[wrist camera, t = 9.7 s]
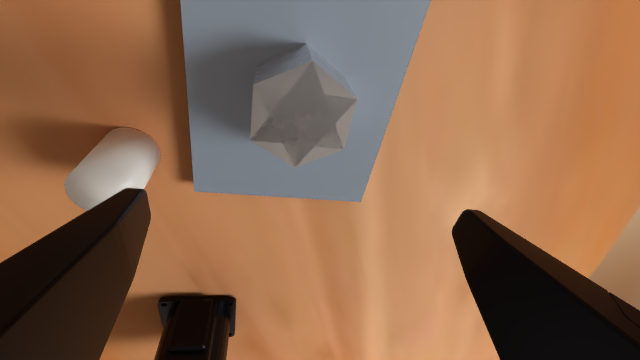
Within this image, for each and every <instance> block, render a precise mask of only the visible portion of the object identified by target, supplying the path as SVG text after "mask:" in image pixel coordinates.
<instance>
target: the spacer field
mask: <svg viewBox="0 0 640 360" xmlns="http://www.w3.org/2000/svg"><path fill="white" fill-rule="evenodd" d="M160 156H161V154H160V149H159V147H158V145H157V143H156V142H155V141H154V140H153V139H152V138H151V137H150V136H149V135H147V134H146V133H144V132H142V131H140V130H137V129H134V128H128V127H121V128H116V129H113V130H111V131H110V132H108V133H107V134H106V136H105V137H104V138H103V139H102V140H101V141H100V142H99V143H98V144H97V145H96V146H95V147H94V148H93V149H92V151H91V152H90V153H89V154H88V155H87V156H86V157H85V158H84V159H83V160H82V161H81V162H80V163H79V164H78V166H77V167H76V168H75V169H74V170H73V171H72V172H71V173H70V174H69V175H68V176H67V178H66V180H65V190H66V193H67V195H68V196H69V198H70V199H71V200H72V201H73V202H74V203H75V204H77V205H78V206H79V207H81V208H83V209H84V210H86V211H88V210H90V209H91V208H93V207H95V206H96V205H98V204H100V203H101V202H103V201H105V200H106V199H108V198H110V197H111V196H113V195H115V194H116V193H118V192H120V191H121V190H123V189H125V188H140V189H144V188H145V186H146V184H147V182H148V181H149V179H150V177H151V175H152V173H153V172H154V170H155V168H156V166H157V164H158V163H159V161H160Z"/></svg>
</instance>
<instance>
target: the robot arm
mask: <svg viewBox="0 0 640 360" xmlns="http://www.w3.org/2000/svg"><path fill="white" fill-rule="evenodd" d="M150 219H151V213H150V208H149V202H148V197H147V193H146V191H145V190H144V189H140V188H125V189H123V190H121V191H120V192H118V193H116V194H115V195H113V196H111V197H110V198H108V199H106V200H105V201H103V202H101V203H100V204H98V205H96V206H95V207H93V208H91V209H90V210H88V211H86V212H85V213H83V214H81V215H80V216H78V217H76V218H75V219H73V220H71V221H70V222H68V223H66V224H65V225H63V226H61V227H60V228H58V229H56V230H55V231H53V232H51V233H50V234H48V235H46V236H45V237H43V238H41V239H40V240H38V241H36V242H35V243H33V244H31V245H30V246H28V247H26V248H25V249H23V250H21V251H20V252H18V253H16V254H15V255H13V256H11V257H10V258H8V259H6V260H5V261H3V262H1V263H0V360H99V359H100V357H101V354H102V352H103V350H104V347H105V345H106V342H107V340H108V338H109V335H110V333H111V331H112V328H113V326H114V324H115V321H116V319H117V317H118V314H119V312H120V310H121V307H122V305H123V303H124V300H125V298H126V296H127V293H128V291H129V288H130V286H131V284H132V281H133V278H134V276H135V272H136V269H137V266H138V262H139V259H140V255H141V252H142V248H143V245H144V241H145V238H146V234H147V231H148V227H149V224H150ZM452 236H453V239H454V243H455V246H456V249H457V252H458V255H459V258H460V262H461V265H462V268H463V271H464V274H465V277H466V280H467V282H468V285H469V287H470V290H471V292H472V295H473V297H474V299H475V302H476V304H477V306H478V309H479V311H480V313H481V316H482V318H483V320H484V323H485V325H486V327H487V330H488V332H489V335H490V337H491V339H492V342H493V344H494V346H495V349H496V351H497V353H498V356H499V358H500V360H640V311H639V310H638V309H636V308H635V307H633V306H631V305H630V304H628V303H626V302H625V301H623V300H621V299H620V298H618V297H617V296H615V295H613V294H612V293H609V292H608V291H607V290H605V289H604V288H602V287H601V286H599V285H597V284H596V283H594V282H593V281H591V280H590V279H588V278H586V277H585V276H583V275H582V274H580V273H578V272H577V271H575V270H574V269H572V268H570V267H569V266H567V265H566V264H564V263H562V262H561V261H559V260H558V259H556V258H554V257H553V256H551V255H550V254H548V253H546V252H545V251H543V250H542V249H540V248H538V247H537V246H535V245H534V244H532V243H531V242H529V241H527V240H526V239H524V238H523V237H521V236H519V235H518V234H516V233H515V232H513V231H511V230H510V229H508V228H507V227H505V226H503V225H502V224H500V223H499V222H497V221H495V220H494V219H492V218H491V217H489V216H487V215H486V214H484V213H483V212H481V211H479V210H470V209H467V210H465V211H463V212H462V214H461V215H460V217H459V218H458V220H457V222H456V223H455V225H454V226H453V229H452ZM158 308H159V312H160V317H161V321H162V325H163V332H162V335H161V338H160V342H159V345H158V348H157V352H156V355H155V359H154V360H226V356H227V348H228V339H229V337H232V336H234V334H235V315H236V299H235V298H234V297H163V298H160V299H159V302H158Z"/></svg>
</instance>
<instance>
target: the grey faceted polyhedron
mask: <svg viewBox="0 0 640 360" xmlns="http://www.w3.org/2000/svg"><path fill="white" fill-rule="evenodd" d="M357 100H358V99H357V97H356V95H355V94H354V92H353V90H352V89H351V87H350V85H349V83H348V82H347V80H346V78H345V77H344V76H343V75H342V74H341V73H340V72H338V71H337V70H336V69H335V68H334V67H333V66H332V65H330V64H329V63H328V62H327V61H326V60H325V59H324V58H322V57H321V56H320V55H319V54H318V53H317V52H316V51H314V50H313V49H312V48H311V47H310V46H309V45H308V44H306V43H305V44H303V45H300V46H298V47H295V48H293V49H291V50H288V51H286V52H283V53H281V54H278V55H276V56H274V57H271V58H269V59H266V60H264V61H262V62H259V63H257V64H256V70H255V76H254V83H253V97H252V115H251V133H250V141H252V142H254V143H255V144H257V145H259V146H260V147H262V148H264V149H265V150H267V151H268V152H270V153H272V154H273V155H275V156H277V157H278V158H280V159H282V160H283V161H285V162H287V163H288V164H290V165H291V166H293V167H298V166H301V165H304V164H306V163H309V162H312V161H314V160H317V159H320V158H323V157H325V156H328V155H331V154H334V153H336V152H339V151H342V150H344V148H345V145H346V141H347V137H348V133H349V130H350V126H351V122H352V118H353V115H354V111H355V107H356V103H357Z"/></svg>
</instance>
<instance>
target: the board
mask: <svg viewBox="0 0 640 360" xmlns="http://www.w3.org/2000/svg"><path fill="white" fill-rule="evenodd" d="M430 1H431V0H180V3H181V17H182V30H183V44H184V58H185V71H186V85H187V99H188V112H189V126H190V140H191V153H192V167H193V180H194V191H195V192H211V193H227V194H243V195H259V196H275V197H291V198H307V199H323V200H338V201H354V202H361V200H362V197H363V194H364V191H365V189H366V186H367V183H368V180H369V177H370V174H371V171H372V168H373V165H374V163H375V160H376V157H377V154H378V151H379V148H380V145H381V142H382V140H383V137H384V134H385V131H386V128H387V125H388V122H389V119H390V116H391V114H392V111H393V108H394V105H395V102H396V99H397V96H398V93H399V91H400V88H401V85H402V82H403V79H404V76H405V73H406V70H407V67H408V65H409V62H410V59H411V56H412V53H413V50H414V47H415V44H416V42H417V39H418V36H419V33H420V30H421V27H422V24H423V21H424V18H425V16H426V13H427V10H428V7H429V4H430ZM305 43H306V44H308V45H309V46H310V47H311V48H312V49H313V50H314V51H316V52H317V53H318V54H319V55H320V56H321V57H322V58H324V59H325V60H326V61H327V62H328V63H329V64H330V65H332V66H333V67H334V68H335V69H336V70H337V71H338V72H340V73H341V74H342V75H343V76H344V77H345V78H346V80H347V82H348V83H349V85H350V87H351V89H352V90H353V92H354V94H355V95H356V97H357V99H358V100H357V103H356V107H355V111H354V115H353V118H352V122H351V126H350V130H349V133H348V137H347V141H346V145H345V148H344V150H342V151H339V152H336V153H334V154H331V155H328V156H325V157H323V158H320V159H317V160H314V161H312V162H309V163H306V164H304V165H301V166H298V167H293V166H291V165H290V164H288V163H287V162H285V161H283V160H282V159H280V158H278V157H277V156H275V155H273V154H272V153H270V152H268V151H267V150H265V149H264V148H262V147H260V146H259V145H257V144H255V143H254V142H252V141H250V133H251V115H252V97H253V83H254V76H255V70H256V64H257V63H259V62H262V61H264V60H266V59H269V58H271V57H274V56H276V55H278V54H281V53H283V52H286V51H288V50H291V49H293V48H295V47H298V46H300V45H303V44H305Z"/></svg>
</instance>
